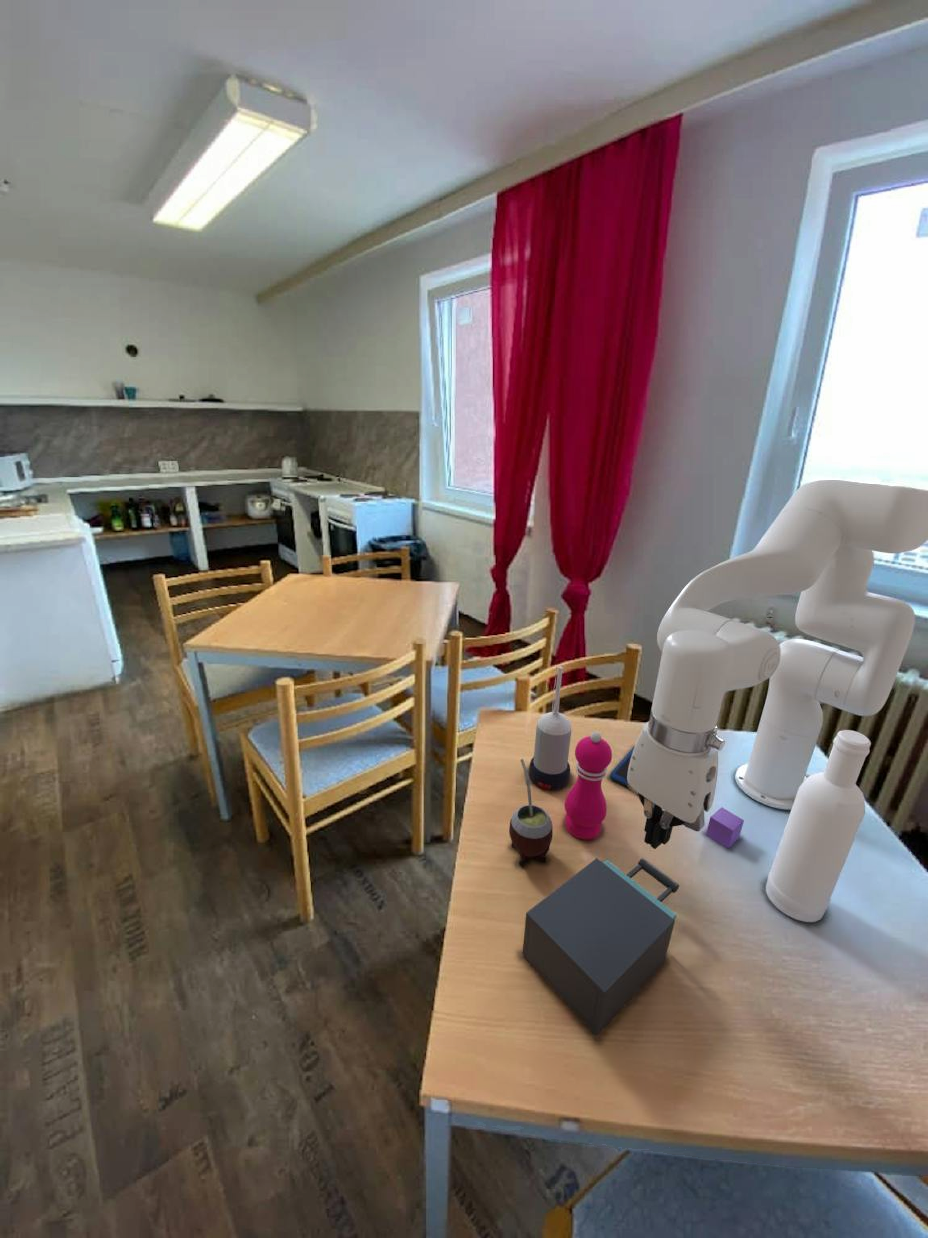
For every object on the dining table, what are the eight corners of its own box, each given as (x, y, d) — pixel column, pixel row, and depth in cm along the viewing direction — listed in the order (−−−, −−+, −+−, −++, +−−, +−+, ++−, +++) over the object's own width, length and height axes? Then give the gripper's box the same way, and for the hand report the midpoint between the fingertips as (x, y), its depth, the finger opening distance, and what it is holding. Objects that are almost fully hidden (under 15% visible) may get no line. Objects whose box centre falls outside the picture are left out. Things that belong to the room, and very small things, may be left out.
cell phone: (669, 760, 110) (669, 757, 110) (643, 795, 100) (643, 791, 100) (636, 746, 114) (636, 743, 114) (607, 778, 104) (608, 775, 104)
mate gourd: (539, 877, 82) (547, 803, 77) (495, 855, 86) (500, 783, 80) (557, 846, 88) (566, 775, 82) (515, 827, 92) (521, 758, 86)
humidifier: (537, 793, 100) (548, 679, 90) (523, 766, 107) (531, 658, 98) (576, 787, 102) (590, 675, 92) (559, 761, 109) (571, 655, 100)
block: (717, 824, 94) (721, 807, 92) (739, 837, 91) (744, 820, 89) (705, 834, 91) (710, 817, 90) (728, 848, 89) (733, 831, 87)
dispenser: (590, 897, 79) (596, 857, 76) (664, 962, 70) (675, 920, 67) (522, 954, 71) (526, 912, 68) (596, 1036, 62) (605, 993, 59)
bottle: (816, 886, 82) (879, 726, 70) (831, 931, 75) (903, 761, 63) (760, 872, 84) (812, 715, 73) (769, 913, 77) (828, 747, 66)
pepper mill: (604, 845, 89) (620, 749, 81) (561, 838, 90) (573, 742, 82) (602, 815, 95) (617, 723, 87) (562, 809, 96) (574, 717, 89)
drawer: (623, 870, 83) (629, 841, 80) (690, 923, 75) (699, 892, 72) (540, 941, 72) (543, 909, 69) (607, 1012, 63) (614, 978, 61)
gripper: (755, 747, 61) (722, 863, 68) (645, 694, 72) (625, 799, 79) (725, 772, 57) (692, 893, 64) (612, 711, 67) (594, 821, 74)
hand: (655, 840), depth 71 cm, fingers closed
